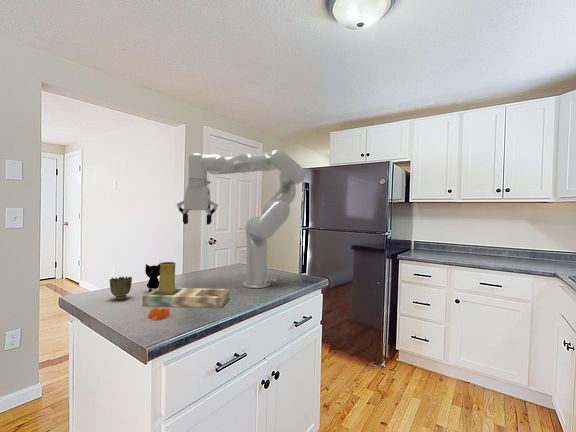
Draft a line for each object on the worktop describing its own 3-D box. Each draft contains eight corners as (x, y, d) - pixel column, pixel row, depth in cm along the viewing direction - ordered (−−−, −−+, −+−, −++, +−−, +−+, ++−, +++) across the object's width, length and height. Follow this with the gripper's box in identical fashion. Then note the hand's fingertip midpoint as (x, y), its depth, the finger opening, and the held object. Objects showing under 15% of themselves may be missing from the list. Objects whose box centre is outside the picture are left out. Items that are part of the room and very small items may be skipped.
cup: (111, 297, 112) (111, 276, 112) (132, 295, 115) (132, 275, 115) (107, 303, 105) (107, 281, 105) (130, 301, 108) (131, 279, 108)
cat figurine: (146, 295, 116) (147, 265, 116) (141, 291, 121) (141, 262, 121) (164, 292, 121) (165, 263, 121) (159, 288, 126) (159, 261, 126)
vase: (173, 303, 107) (174, 264, 106) (156, 303, 106) (156, 264, 105) (177, 298, 113) (178, 261, 112) (160, 299, 112) (161, 261, 112)
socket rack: (229, 297, 114) (229, 289, 114) (221, 307, 102) (221, 297, 102) (158, 296, 115) (158, 287, 115) (142, 305, 103) (142, 296, 103)
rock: (160, 310, 101) (161, 298, 101) (187, 316, 96) (187, 303, 96) (128, 321, 90) (128, 307, 90) (156, 329, 85) (156, 314, 85)
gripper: (220, 184, 127) (219, 224, 127) (180, 184, 127) (180, 223, 127) (215, 182, 119) (215, 224, 120) (173, 182, 120) (173, 224, 120)
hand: (197, 224), depth 124 cm, fingers open, 9 cm apart
